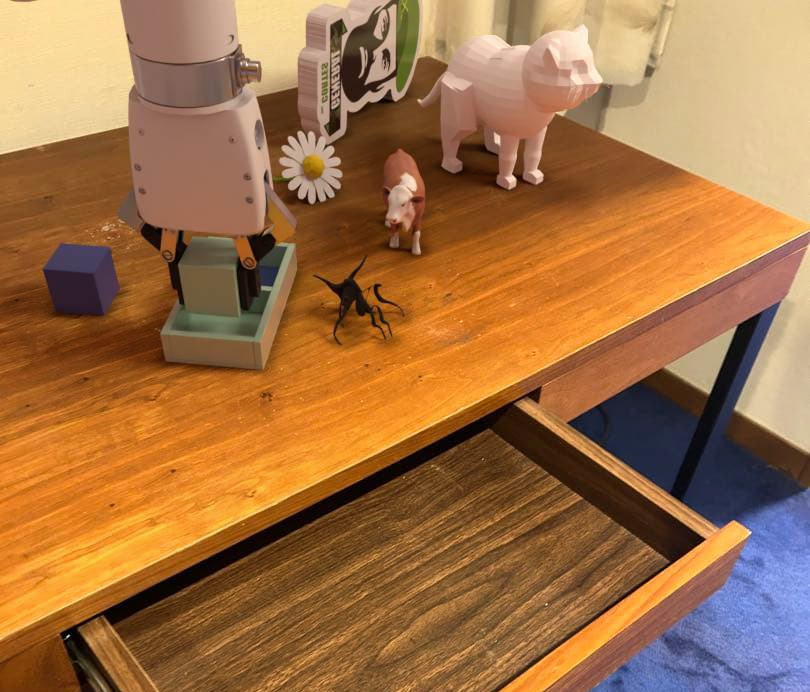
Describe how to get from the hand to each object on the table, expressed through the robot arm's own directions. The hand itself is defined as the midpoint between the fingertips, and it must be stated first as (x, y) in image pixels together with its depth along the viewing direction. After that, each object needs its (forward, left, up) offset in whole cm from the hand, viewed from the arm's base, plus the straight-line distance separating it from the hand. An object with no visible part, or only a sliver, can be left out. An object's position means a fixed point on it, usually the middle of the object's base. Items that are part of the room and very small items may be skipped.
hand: (218, 297), depth 74 cm
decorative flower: (-1, +28, -4) cm, 28 cm away
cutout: (+6, +51, -4) cm, 51 cm away
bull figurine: (+14, +20, -4) cm, 25 cm away
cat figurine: (+23, +38, -4) cm, 45 cm away
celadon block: (0, 0, 0) cm, 0 cm away
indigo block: (-14, +4, -4) cm, 15 cm away
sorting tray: (0, +4, -4) cm, 6 cm away
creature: (+12, +4, -4) cm, 14 cm away
